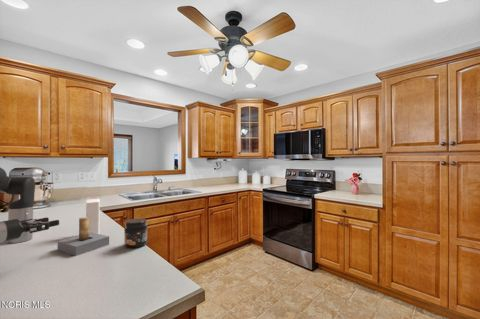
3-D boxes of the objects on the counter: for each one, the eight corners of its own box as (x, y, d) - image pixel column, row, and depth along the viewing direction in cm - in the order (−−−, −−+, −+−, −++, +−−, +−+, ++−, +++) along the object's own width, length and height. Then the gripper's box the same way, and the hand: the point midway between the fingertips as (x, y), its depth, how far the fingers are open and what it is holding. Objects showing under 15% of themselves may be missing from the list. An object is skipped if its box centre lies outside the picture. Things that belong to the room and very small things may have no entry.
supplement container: (119, 247, 108) (119, 222, 108) (136, 240, 118) (136, 217, 118) (135, 250, 104) (135, 224, 104) (152, 242, 114) (152, 219, 114)
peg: (76, 247, 107) (77, 218, 107) (85, 245, 110) (86, 216, 110) (81, 249, 105) (82, 219, 105) (90, 246, 109) (91, 217, 109)
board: (57, 249, 104) (57, 241, 104) (90, 239, 118) (90, 232, 118) (76, 255, 98) (76, 246, 98) (109, 244, 111) (109, 236, 111)
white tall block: (98, 235, 125) (99, 196, 125) (85, 237, 122) (86, 197, 122) (99, 232, 130) (99, 194, 130) (86, 234, 127) (87, 195, 127)
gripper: (10, 224, 79) (62, 214, 93) (-8, 219, 85) (44, 210, 100) (9, 245, 79) (62, 232, 93) (-8, 238, 85) (44, 227, 100)
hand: (53, 220), depth 96 cm, fingers open, 8 cm apart
